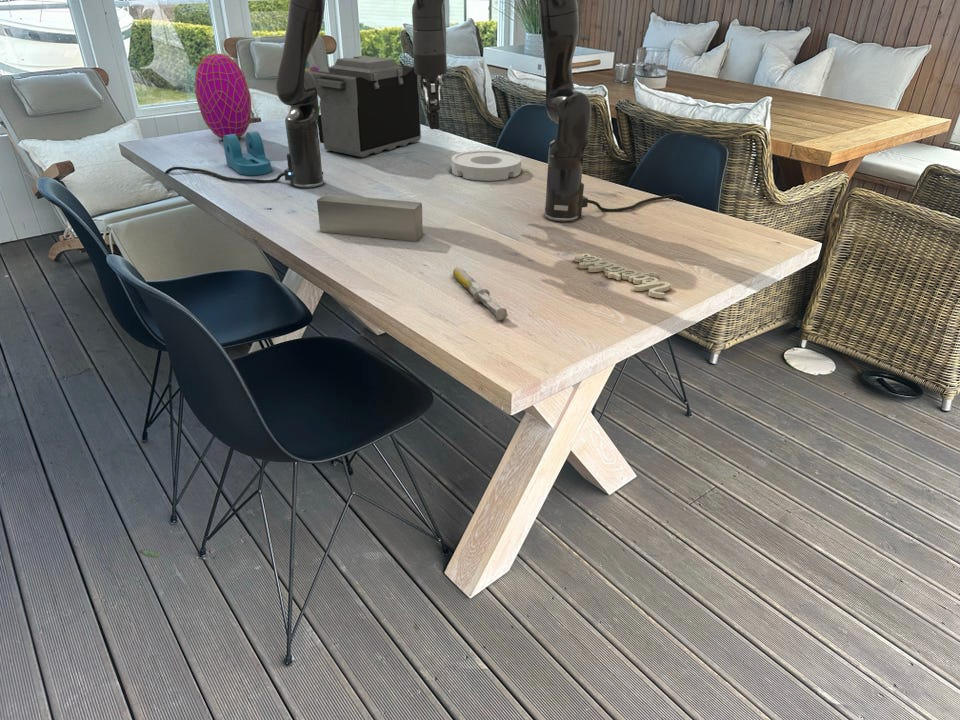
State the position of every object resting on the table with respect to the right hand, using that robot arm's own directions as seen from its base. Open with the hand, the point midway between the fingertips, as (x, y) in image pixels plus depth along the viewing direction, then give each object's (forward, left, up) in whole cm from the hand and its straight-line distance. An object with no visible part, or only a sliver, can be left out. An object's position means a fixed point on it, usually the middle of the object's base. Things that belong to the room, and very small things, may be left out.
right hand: (433, 124), depth 165 cm
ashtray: (-35, -50, -27) cm, 67 cm away
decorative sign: (-31, +41, -27) cm, 58 cm away
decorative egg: (+41, -126, -27) cm, 135 cm away
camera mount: (+38, -79, -27) cm, 92 cm away
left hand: (-9, -27, 0) cm, 29 cm away
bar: (+16, -6, -27) cm, 32 cm away
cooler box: (-7, -97, -27) cm, 101 cm away
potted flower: (+6, -145, -27) cm, 148 cm away
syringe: (+4, +40, -27) cm, 49 cm away
